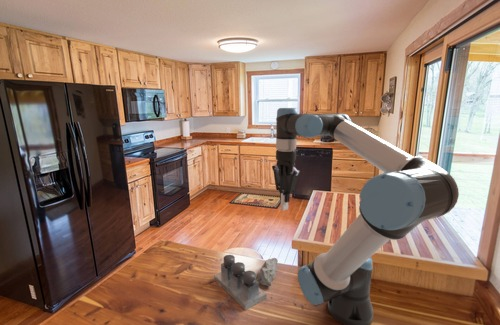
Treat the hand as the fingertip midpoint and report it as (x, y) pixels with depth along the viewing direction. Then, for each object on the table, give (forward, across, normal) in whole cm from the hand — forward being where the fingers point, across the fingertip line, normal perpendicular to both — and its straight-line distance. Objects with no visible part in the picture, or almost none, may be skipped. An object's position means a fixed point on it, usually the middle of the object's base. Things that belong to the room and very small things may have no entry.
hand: (284, 209), depth 103 cm
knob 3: (+32, +1, +16) cm, 36 cm away
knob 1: (+32, +15, +16) cm, 39 cm away
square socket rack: (+32, +8, +16) cm, 37 cm away
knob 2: (+32, +8, +16) cm, 37 cm away
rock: (+33, +6, +3) cm, 34 cm away
